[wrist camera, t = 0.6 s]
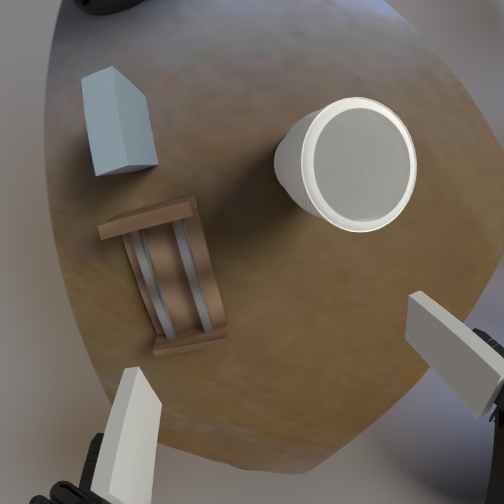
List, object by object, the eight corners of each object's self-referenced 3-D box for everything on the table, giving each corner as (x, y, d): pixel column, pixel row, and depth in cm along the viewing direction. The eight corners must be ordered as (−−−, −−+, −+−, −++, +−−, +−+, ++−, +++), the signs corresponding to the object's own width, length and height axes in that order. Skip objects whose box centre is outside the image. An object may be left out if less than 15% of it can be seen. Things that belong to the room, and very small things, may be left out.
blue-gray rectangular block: (122, 103, 28) (81, 78, 17) (145, 96, 28) (112, 65, 17) (135, 171, 31) (95, 176, 20) (158, 164, 31) (128, 165, 20)
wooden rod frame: (118, 214, 32) (97, 226, 25) (194, 193, 33) (188, 201, 26) (160, 335, 38) (152, 366, 31) (227, 323, 38) (230, 353, 32)
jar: (287, 106, 31) (337, 71, 16) (356, 147, 33) (432, 145, 19) (249, 182, 33) (275, 196, 19) (322, 218, 35) (384, 254, 21)
